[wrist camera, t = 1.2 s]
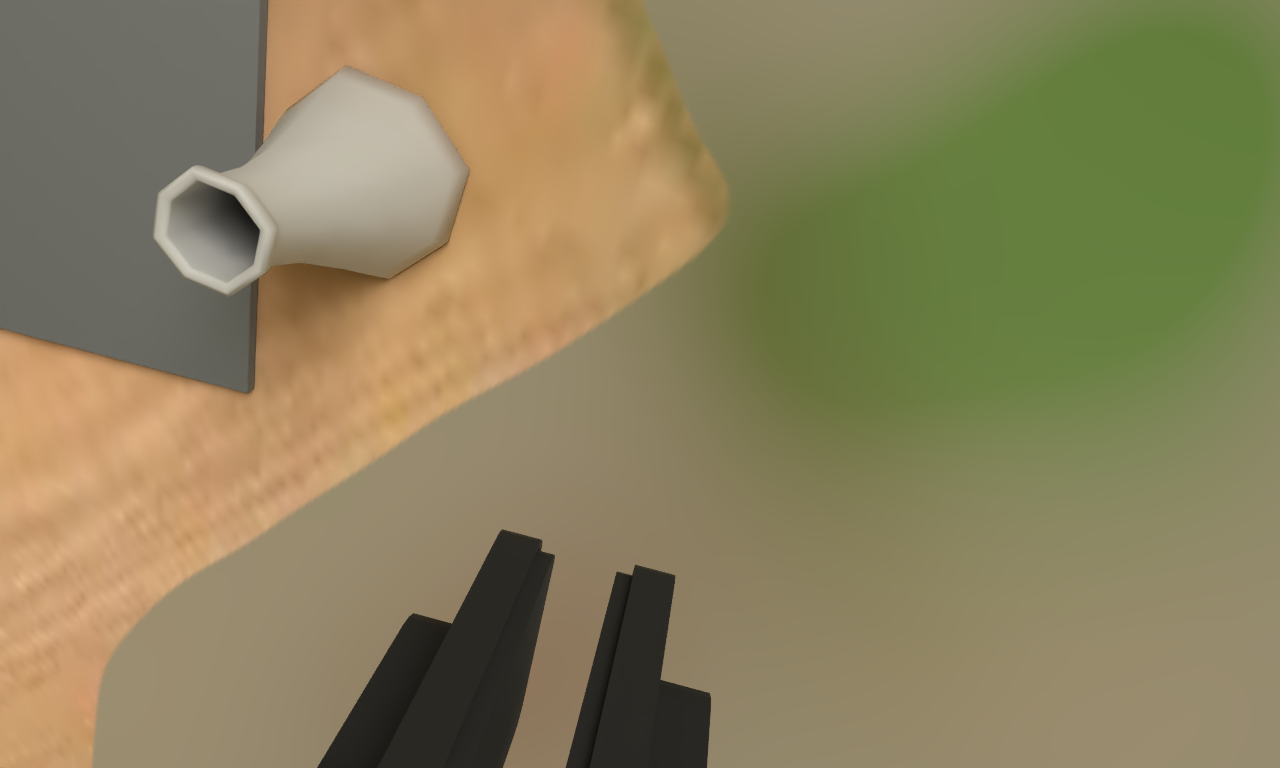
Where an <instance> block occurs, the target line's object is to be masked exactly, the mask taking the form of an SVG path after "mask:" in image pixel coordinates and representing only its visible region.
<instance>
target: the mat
mask: <svg viewBox="0 0 1280 768" xmlns="http://www.w3.org/2000/svg"><path fill="white" fill-rule="evenodd" d="M267 13H268V0H0V328H1V329H5V330H9V331H12V332H16V333H20V334H24V335H28V336H31V337H35V338H39V339H43V340H47V341H50V342H54V343H58V344H62V345H66V346H69V347H73V348H77V349H81V350H85V351H88V352H92V353H96V354H100V355H104V356H107V357H111V358H115V359H119V360H123V361H126V362H130V363H134V364H138V365H142V366H145V367H149V368H153V369H157V370H161V371H164V372H168V373H172V374H176V375H180V376H183V377H187V378H191V379H195V380H199V381H202V382H206V383H210V384H214V385H218V386H221V387H225V388H229V389H233V390H237V391H240V392H244V393H249V392H250V391H251V390H253V389H254V376H255V348H256V320H257V292H258V278H257V279H256V280H254V281H253V282H252V283H250V284H249V285H247V286H246V287H244V288H243V289H241V290H240V291H238V292H237V293H235V294H234V295H232V296H229V297H228V296H225V295H223V294H221V293H218V292H216V291H213V290H211V289H208V288H206V287H204V286H201V285H199V284H196V283H194V282H191V281H189V280H187V279H184V278H183V277H182V275H181V274H180V273H179V272H178V270H177V269H176V268H175V267H174V265H173V264H172V263H171V261H170V260H169V259H168V258H167V256H166V255H165V254H164V253H163V251H162V250H161V249H160V248H159V246H158V245H157V244H156V242H155V241H154V240H153V239H152V232H153V225H154V218H155V211H156V204H157V197H158V192H160V191H161V190H162V189H164V188H165V187H166V186H167V185H169V184H170V183H171V182H173V181H174V180H175V179H177V178H178V177H179V176H181V175H182V174H183V173H185V172H186V171H187V170H189V169H190V168H191V167H193V166H196V165H199V166H204V167H207V168H209V169H212V170H214V171H216V172H219V173H222V172H225V171H229V170H233V169H236V168H240V167H242V166H243V165H245V164H247V163H248V161H249V160H250V159H251V158H252V156H253V155H254V154H255V153H256V152H257V150H258V149H259V148H260V147H261V145H262V144H263V124H264V96H265V68H266V41H267Z"/></svg>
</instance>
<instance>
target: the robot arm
mask: <svg viewBox="0 0 1280 768" xmlns="http://www.w3.org/2000/svg"><path fill="white" fill-rule="evenodd" d="M541 548H542V540H540V539H537V538H532V537H529V536H525V535H521V534H518V533H514V532H510V531H506V530H501V531H500V533H499V535H498V536H497V538H496V540H495V542H494V544H493V546H492V548H491V550H490V552H489V554H488V555H487V557H486V560H485V561H484V563H483V565H482V567H481V569H480V571H479V573H478V575H477V577H476V579H475V581H474V583H473V584H472V586H471V588H470V590H469V592H468V594H467V596H466V598H465V600H464V602H463V604H462V606H461V608H460V610H459V611H458V613H457V615H456V617H455V619H454V621H453V623H452V624H451V623H448V622H444V621H440V620H436V619H433V618H429V617H425V616H422V615H418V614H414V613H413V614H412V615H411V616H409V618H408V619H407V620H406V622H405V623H404V625H403V626H402V628H401V629H400V631H399V633H398V634H397V636H396V638H395V639H394V641H393V643H392V644H391V646H390V648H389V649H388V651H387V653H386V654H385V656H384V658H383V659H382V661H381V663H380V664H379V666H378V668H377V669H376V671H375V673H374V674H373V676H372V678H371V679H370V681H369V683H368V684H367V686H366V688H365V689H364V691H363V693H362V694H361V696H360V698H359V699H358V701H357V703H356V704H355V706H354V708H353V709H352V711H351V713H350V714H349V716H348V717H347V719H346V721H345V723H344V724H343V726H342V728H341V729H340V731H339V733H338V734H337V736H336V738H335V739H334V741H333V743H332V744H331V746H330V747H329V749H328V751H327V752H326V754H325V756H324V758H323V759H322V761H321V762H320V764H319V766H318V767H317V768H503V765H504V762H505V759H506V757H507V754H508V751H509V748H510V745H511V742H512V739H513V736H514V733H515V730H516V727H517V724H518V720H519V717H520V713H521V709H522V705H523V701H524V696H525V692H526V687H527V683H528V678H529V673H530V669H531V664H532V660H533V655H534V650H535V646H536V642H537V637H538V632H539V628H540V623H541V618H542V614H543V610H544V605H545V600H546V595H547V591H548V586H549V582H550V577H551V573H552V569H553V564H554V558H555V555H553V554H549V553H545V552H542V551H541ZM674 584H675V575H672V574H668V573H665V572H661V571H657V570H653V569H650V568H646V567H642V566H638V565H635V568H634V571H633V575H628V574H624V573H621V572H617V573H616V576H615V580H614V584H613V588H612V592H611V596H610V600H609V603H608V607H607V611H606V615H605V619H604V623H603V627H602V630H601V634H600V638H599V642H598V646H597V650H596V653H595V657H594V661H593V666H592V669H591V673H590V677H589V680H588V684H587V688H586V692H585V696H584V700H583V703H582V707H581V711H580V715H579V719H578V723H577V727H576V730H575V734H574V738H573V742H572V746H571V750H570V754H569V758H568V761H567V765H566V768H707V757H708V741H709V726H710V712H711V697H710V693H707V692H703V691H700V690H696V689H692V688H688V687H685V686H681V685H677V684H673V683H670V682H666V681H663V680H660V678H661V671H662V664H663V658H664V651H665V644H666V637H667V631H668V624H669V617H670V610H671V604H672V597H673V591H674Z"/></svg>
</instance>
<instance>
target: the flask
mask: <svg viewBox="0 0 1280 768" xmlns="http://www.w3.org/2000/svg"><path fill="white" fill-rule="evenodd" d="M469 170H470V169H469V168H468V166H467V165H466V163H465V161H464V160H463V158H462V157H461V155H460V154H459V152H458V151H457V149H456V148H455V146H454V145H453V143H452V142H451V140H450V138H449V137H448V135H447V134H446V132H445V131H444V129H443V128H442V126H441V125H440V123H439V122H438V120H437V118H436V117H435V115H434V114H433V112H432V111H431V109H430V108H429V106H428V105H427V103H426V102H425V100H424V99H423V97H421V96H418V95H416V94H414V93H411V92H409V91H407V90H404V89H402V88H400V87H397V86H395V85H392V84H390V83H388V82H385V81H383V80H381V79H378V78H376V77H374V76H371V75H369V74H367V73H364V72H362V71H360V70H357V69H355V68H352V67H350V66H348V65H345V66H344V67H343V68H341V69H340V70H339V71H337V72H336V73H335V74H333V75H332V76H331V77H329V78H328V79H327V80H325V81H324V82H323V83H322V84H320V85H319V86H318V87H316V88H315V89H314V90H312V91H311V92H310V93H308V94H307V95H306V96H304V97H303V98H302V99H300V100H299V101H298V102H296V103H295V104H294V105H292V106H291V107H290V108H288V109H287V110H286V112H285V113H284V114H283V115H282V117H281V118H280V119H279V121H278V122H277V124H276V125H275V127H274V128H273V130H272V131H271V133H270V134H269V136H268V137H267V139H266V140H265V142H264V143H263V144H262V145H261V147H260V148H259V149H258V150H257V152H256V153H255V154H254V155H253V156H252V158H251V159H250V160H249V161H248V163H247V164H245V165H243V166H242V167H240V168H236V169H233V170H229V171H225V172H222V173H219V172H216V171H214V170H212V169H209V168H207V167H204V166H199V165H196V166H193V167H191V168H190V169H189V170H187V171H186V172H185V173H183V174H182V175H181V176H179V177H178V178H177V179H175V180H174V181H173V182H171V183H170V184H169V185H167V186H166V187H165V188H164V189H162V190H161V191H160V192H158V197H157V204H156V211H155V218H154V225H153V232H152V239H153V240H154V241H155V242H156V244H157V245H158V246H159V248H160V249H161V250H162V251H163V253H164V254H165V255H166V256H167V258H168V259H169V260H170V261H171V263H172V264H173V265H174V267H175V268H176V269H177V270H178V272H179V273H180V274H181V275H182V277H183V278H184V279H187V280H189V281H191V282H194V283H196V284H199V285H201V286H204V287H206V288H208V289H211V290H213V291H216V292H218V293H221V294H223V295H225V296H228V297H229V296H232V295H234V294H235V293H237V292H238V291H240V290H241V289H243V288H244V287H246V286H247V285H249V284H250V283H252V282H253V281H254V280H256V279H257V278H259V277H260V276H262V275H263V274H265V273H266V272H267V271H268V270H269V269H270V266H278V265H286V264H294V263H306V264H312V265H319V266H325V267H332V268H339V269H345V270H349V271H354V272H358V273H363V274H367V275H372V276H376V277H382V278H388V279H390V278H392V277H394V276H395V275H397V274H398V273H400V272H402V271H403V270H405V269H406V268H408V267H409V266H411V265H413V264H414V263H416V262H417V261H419V260H420V259H422V258H424V257H425V256H427V255H428V254H430V253H431V252H433V251H435V250H436V249H438V248H439V247H441V246H442V245H444V244H446V243H447V242H448V240H449V237H450V234H451V230H452V227H453V223H454V220H455V217H456V213H457V210H458V207H459V203H460V200H461V197H462V193H463V190H464V187H465V183H466V180H467V177H468V173H469Z"/></svg>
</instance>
